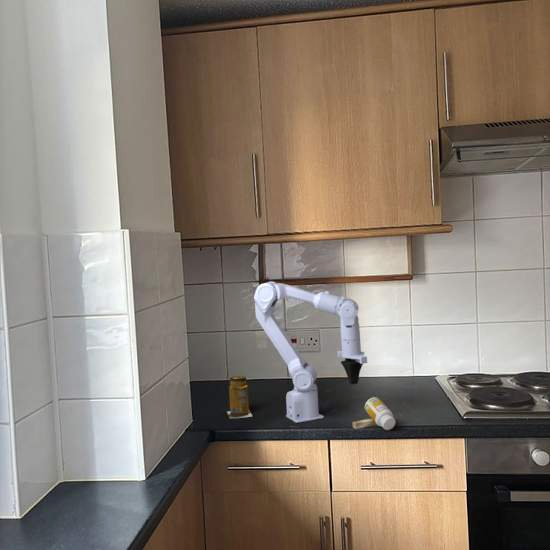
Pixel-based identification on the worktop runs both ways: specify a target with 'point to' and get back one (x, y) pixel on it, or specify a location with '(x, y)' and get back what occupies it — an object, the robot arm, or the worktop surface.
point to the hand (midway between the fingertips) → (353, 383)
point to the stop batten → (364, 423)
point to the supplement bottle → (380, 413)
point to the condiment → (238, 398)
